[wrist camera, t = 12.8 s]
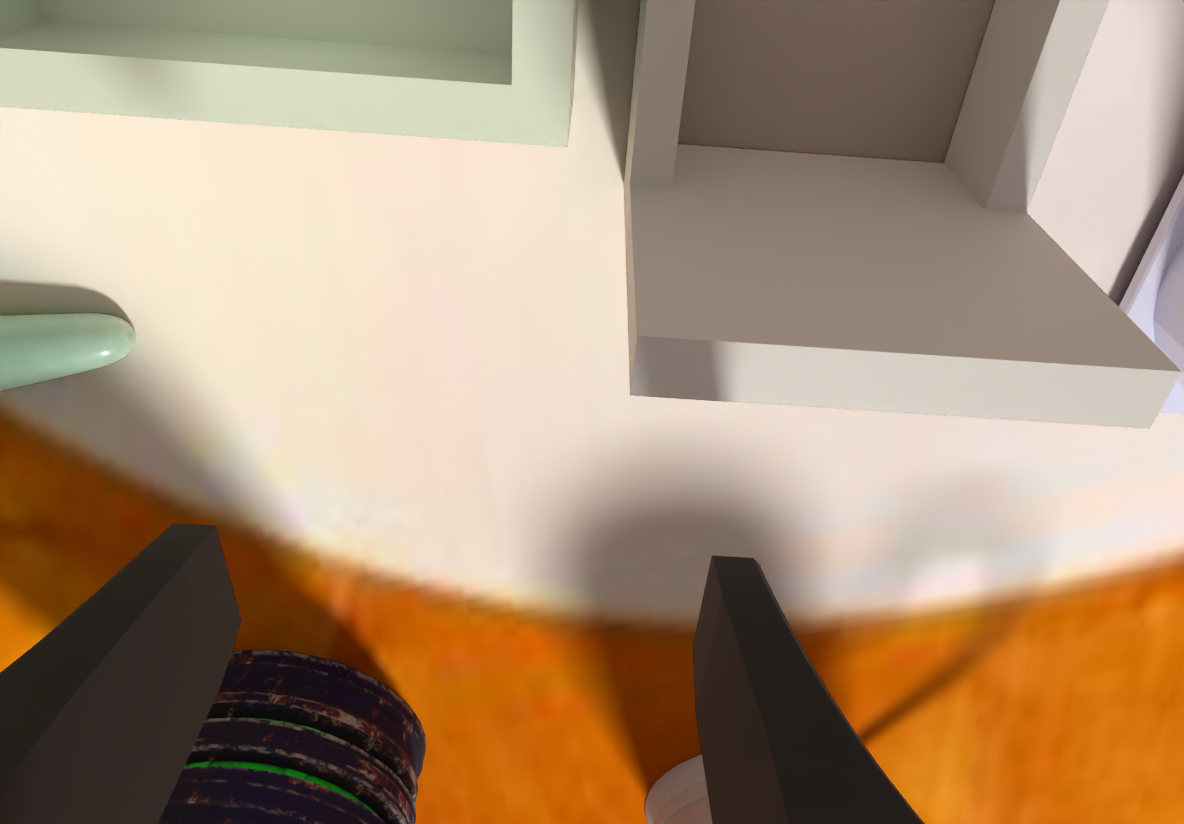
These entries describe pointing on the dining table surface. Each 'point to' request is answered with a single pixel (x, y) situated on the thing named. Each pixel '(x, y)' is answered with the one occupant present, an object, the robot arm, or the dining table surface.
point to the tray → (302, 63)
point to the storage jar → (300, 748)
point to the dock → (877, 254)
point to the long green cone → (59, 345)
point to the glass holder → (680, 796)
